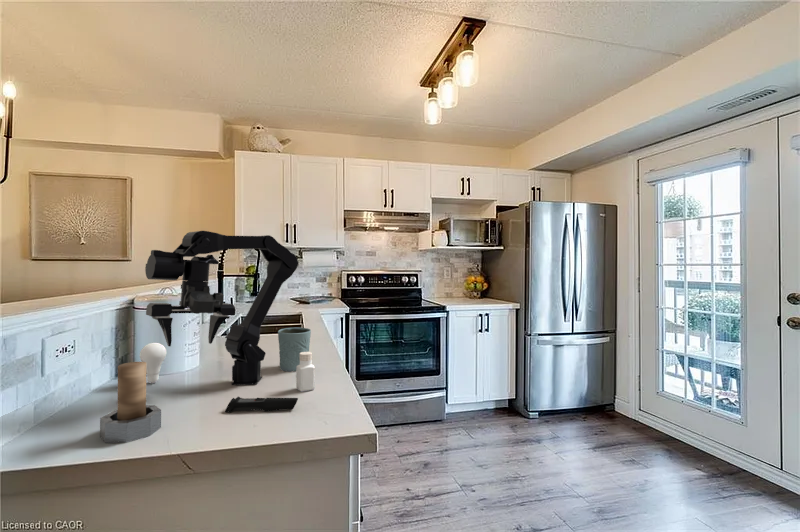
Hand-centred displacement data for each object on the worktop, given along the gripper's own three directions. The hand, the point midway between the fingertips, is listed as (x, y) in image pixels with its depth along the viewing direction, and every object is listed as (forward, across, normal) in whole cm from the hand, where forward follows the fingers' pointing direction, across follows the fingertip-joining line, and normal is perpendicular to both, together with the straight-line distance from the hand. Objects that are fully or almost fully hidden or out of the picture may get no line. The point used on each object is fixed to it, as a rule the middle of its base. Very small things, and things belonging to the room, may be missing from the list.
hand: (190, 344), depth 93 cm
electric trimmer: (+13, +10, -20) cm, 26 cm away
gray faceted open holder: (+14, -14, -14) cm, 24 cm away
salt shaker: (+12, +24, -15) cm, 30 cm away
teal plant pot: (+11, +33, +6) cm, 35 cm away
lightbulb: (+13, -3, +18) cm, 23 cm away
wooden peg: (+14, -13, -14) cm, 24 cm away
